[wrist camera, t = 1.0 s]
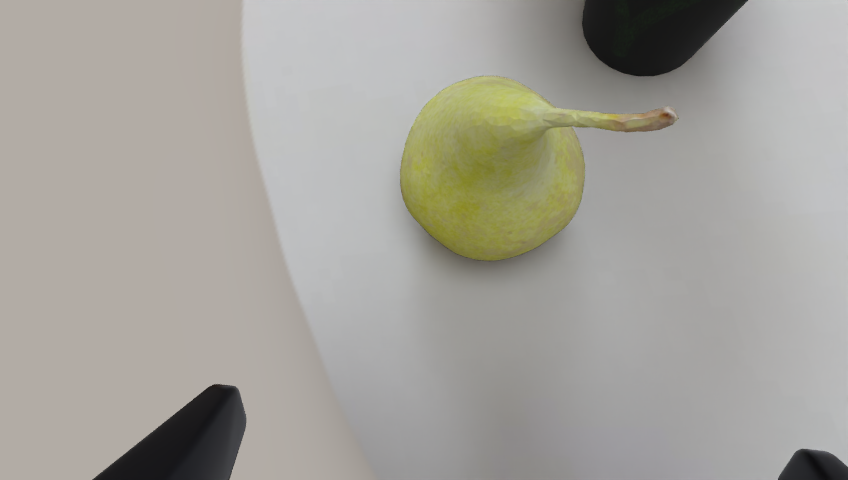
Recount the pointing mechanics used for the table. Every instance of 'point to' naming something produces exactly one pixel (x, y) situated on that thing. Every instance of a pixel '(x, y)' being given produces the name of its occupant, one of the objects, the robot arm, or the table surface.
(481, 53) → the table surface
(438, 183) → the fruit
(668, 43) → the cup
